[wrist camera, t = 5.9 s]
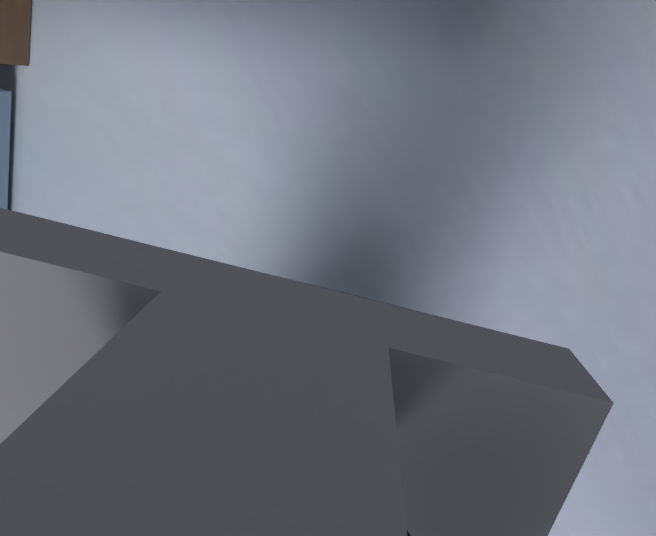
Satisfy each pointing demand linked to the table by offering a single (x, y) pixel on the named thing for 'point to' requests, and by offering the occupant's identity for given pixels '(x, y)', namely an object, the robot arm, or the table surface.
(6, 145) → the door leaf
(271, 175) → the table surface
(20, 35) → the wooden blocks
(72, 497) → the gray t-shaped pedestal
